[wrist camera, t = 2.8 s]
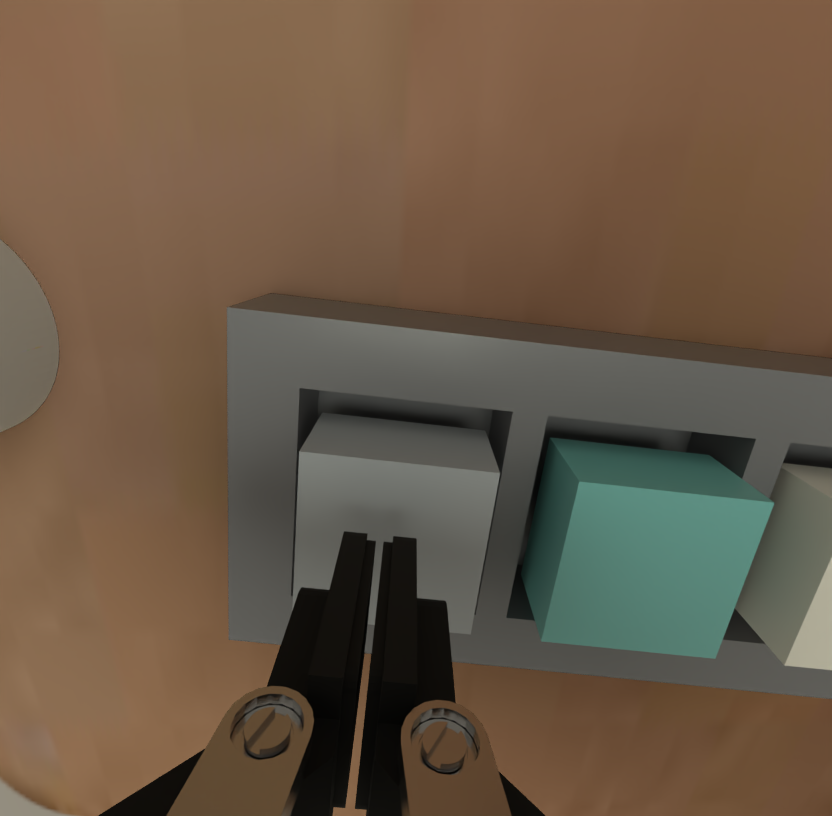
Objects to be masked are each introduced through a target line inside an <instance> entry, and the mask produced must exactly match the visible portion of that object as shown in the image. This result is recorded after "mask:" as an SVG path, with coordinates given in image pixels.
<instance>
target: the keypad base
mask: <svg viewBox="0 0 832 816" xmlns="http://www.w3.org/2000/svg"><path fill="white" fill-rule="evenodd" d="M227 403H228V588H229V640H238V641H248V642H258V643H268V644H278V645H281V643H282V640H283V637H284V634H285V631H286V628H287V625H288V622H289V619H290V616H291V613H292V607H293V584H294V561H295V538H296V515H297V492H298V469H299V451H300V449H301V448H302V446H303V444H304V443H305V441H306V439H307V438H308V436H309V434H310V433H311V431H312V429H313V427H314V426H315V424H316V422H317V421H318V419H319V417H320V416H321V414H322V413H331V414H340V415H349V416H358V417H367V418H377V419H386V420H395V421H404V422H413V423H422V424H431V425H440V426H449V427H458V428H467V429H476V430H485V431H486V434H487V437H488V439H489V442H490V445H491V448H492V451H493V454H494V457H495V460H496V463H497V466H498V469H499V471H500V477H499V482H498V488H497V493H496V498H495V504H494V509H493V515H492V520H491V526H490V531H489V537H488V542H487V548H486V553H485V559H484V564H483V570H482V575H481V581H480V586H479V591H478V597H477V602H476V608H475V613H474V619H473V624H472V630H471V635H470V634H460V633H450V632H449V633H450V645H451V656H452V662H461V663H471V664H481V665H491V666H501V667H512V668H522V669H532V670H542V671H552V672H562V673H572V674H583V675H593V676H603V677H613V678H623V679H633V680H644V681H654V682H664V683H674V684H684V685H694V686H704V687H715V688H725V689H735V690H745V691H755V692H765V693H775V694H786V695H796V696H806V697H816V698H826V699H832V670H824V669H814V668H804V667H794V666H784V665H783V664H782V662H781V661H780V660H779V659H778V658H777V657H776V655H775V654H774V653H773V652H772V651H771V650H770V648H769V647H768V646H767V645H766V644H765V643H764V641H763V640H762V639H761V638H760V637H759V636H758V635H757V633H756V632H755V631H754V630H753V629H752V628H751V626H750V625H749V624H748V623H747V622H746V621H745V619H744V618H743V617H742V616H741V615H740V614H739V613H738V611H737V610H736V609H735V608H734V611H733V614H732V616H731V619H730V622H729V624H728V627H727V629H726V632H725V635H724V637H723V640H722V643H721V645H720V648H719V651H718V653H717V656H716V658H715V659H712V658H702V657H692V656H682V655H672V654H662V653H652V652H642V651H632V650H622V649H612V648H602V647H592V646H582V645H572V644H562V643H552V642H542V641H541V639H540V636H539V632H538V629H537V626H536V623H535V619H534V616H533V613H532V609H531V606H530V603H529V599H528V596H527V593H526V589H525V586H524V583H523V579H522V576H521V571H522V567H523V562H524V557H525V553H526V548H527V543H528V538H529V534H530V529H531V524H532V520H533V515H534V510H535V505H536V501H537V496H538V491H539V487H540V482H541V477H542V472H543V468H544V463H545V458H546V454H547V449H548V444H549V439H550V437H551V438H560V439H569V440H578V441H587V442H596V443H605V444H614V445H623V446H632V447H641V448H650V449H659V450H668V451H677V452H686V453H696V454H705V455H710V456H711V457H713V458H714V459H715V460H717V461H718V462H720V463H721V464H722V465H724V466H725V467H726V468H728V469H729V470H731V471H732V472H733V473H735V474H736V475H737V476H739V477H740V478H742V479H743V480H744V481H746V482H747V483H748V484H750V485H751V486H752V487H754V488H755V489H757V490H758V491H759V492H761V493H762V494H763V495H765V496H766V497H768V498H769V499H770V496H771V493H772V491H773V488H774V485H775V483H776V480H777V477H778V475H779V472H780V469H781V467H782V464H783V463H788V464H797V465H806V466H815V467H824V468H832V358H824V357H815V356H807V355H798V354H789V353H781V352H772V351H763V350H755V349H746V348H738V347H729V346H720V345H712V344H703V343H694V342H686V341H677V340H669V339H660V338H651V337H643V336H634V335H625V334H617V333H608V332H600V331H591V330H582V329H574V328H565V327H557V326H548V325H539V324H531V323H522V322H513V321H505V320H496V319H488V318H479V317H470V316H462V315H453V314H444V313H436V312H427V311H419V310H410V309H401V308H393V307H384V306H375V305H367V304H358V303H350V302H341V301H332V300H324V299H315V298H306V297H298V296H289V295H281V294H272V293H270V294H267V295H264V296H261V297H258V298H254V299H251V300H248V301H245V302H242V303H239V304H236V305H232V306H229V307H227ZM374 626H375V625H370V624H368V625H367V635H366V644H365V653H369V654H372V645H373V635H374Z"/></svg>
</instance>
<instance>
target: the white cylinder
mask: <svg viewBox="0 0 832 816" xmlns="http://www.w3.org/2000/svg"><path fill="white" fill-rule="evenodd" d="M58 363H59V340H58V333H57V328H56V323H55V320H54V316H53V313H52V310H51V308H50V305H49V303H48V301H47V298H46V296H45V294H44V292H43V290H42V289H41V287H40V285H39V283H38V282H37V280H36V279H35V277H34V276H33V274H32V273H31V271H30V270H29V269H28V267H27V266H26V265H25V264H24V262H23V261H22V260H21V259H20V258H19V257H18V256H17V254H16V253H15V252H14V251H13V250H12V249H11V248H10V247H9V246H7V245H6V244H5V243H4V242H3V241H2V240H1V239H0V432H2V431H4V430H7V429H9V428H11V427H13V426H15V425H17V424H19V423H21V422H23V421H24V420H26V419H27V418H29V417H30V416H31V415H32V414H33V413H34V412H36V411H37V410H38V409H39V407H40V406H41V405H42V404H43V402H44V401H45V400H46V398H47V396H48V395H49V393H50V391H51V389H52V386H53V384H54V381H55V378H56V374H57V370H58Z"/></svg>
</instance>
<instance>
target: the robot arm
mask: <svg viewBox="0 0 832 816" xmlns="http://www.w3.org/2000/svg"><path fill="white" fill-rule="evenodd" d="M367 536H368V533H357V532H347V531H344V533H343V537H342V541H341V545H340V549H339V553H338V557H337V561H336V565H335V569H334V573H333V577H332V581H331V585H330V589H329V590H326V589H315V588H304V587H301V589H300V590H299V593H298V595H297V598H296V601H295V604H294V607H293V610H292V613H291V616H290V619H289V622H288V625H287V628H286V631H285V634H284V637H283V640H282V643H281V646H280V649H279V652H278V655H277V658H276V661H275V664H274V667H273V670H272V673H271V676H270V679H269V682H268V685H267V687H264V688H258V689H256V690H254V691H252V692H249V693H247V694H245V695H244V696H243V697H241V698H240V699H239V700H237V701H236V702H235V703H234V704H233V705H232V706H231V708H230V709H229V710H228V711H227V713H226V714H225V716H224V717H223V719H222V721H221V722H220V724H219V726H218V728H217V729H216V731H215V733H214V735H213V736H212V738H211V740H210V741H209V743H208V745H207V747H206V748H205V749H204V750H202V751H201V752H199V753H197V754H196V755H194V756H193V757H191V758H189V759H188V760H186V761H185V762H183V763H181V764H180V765H178V766H177V767H175V768H174V769H172V770H170V771H169V772H167V773H166V774H164V775H162V776H161V777H159V778H158V779H156V780H154V781H153V782H151V783H150V784H148V785H146V786H145V787H143V788H142V789H140V790H138V791H137V792H135V793H134V794H132V795H130V796H129V797H127V798H126V799H124V800H122V801H121V802H119V803H118V804H116V805H115V806H113V807H111V808H110V809H108V810H107V811H105V812H103V813H102V814H100V815H99V816H332V814H333V807H340V808H345V805H346V797H347V789H348V781H349V773H350V765H351V757H352V749H353V741H354V733H355V725H356V717H357V709H358V701H359V693H360V685H361V677H362V669H363V661H364V653H365V644H366V635H367V625H368V615H369V606H370V596H371V586H372V576H373V566H374V556H375V547H376V541H373V540H367ZM355 809H366V810H367V812H366V816H545V815H544V814H543V813H542V812H541V811H540V810H539V809H538V808H537V807H536V806H535V805H534V804H532V803H531V802H530V801H529V800H528V799H527V798H526V797H525V796H524V795H523V794H522V793H521V792H520V791H519V790H518V789H517V788H516V787H515V786H514V785H512V784H511V783H510V782H509V781H508V780H507V779H506V778H505V777H504V776H503V775H502V774H501V773H500V772H499V771H498V769H497V765H496V762H495V759H494V755H493V752H492V749H491V745H490V742H489V739H488V736H487V733H486V731H485V729H484V727H483V725H482V723H481V722H480V721H479V720H478V719H477V717H476V716H475V715H474V714H473V713H472V712H470V711H469V710H467V709H466V708H465V707H463V706H461V705H459V704H456V702H455V691H454V679H453V668H452V656H451V645H450V633H449V622H448V610H447V603H446V601H444V600H433V599H422V598H417V539H416V538H409V537H398V536H393V542H383V551H382V561H381V570H380V579H379V589H378V598H377V607H376V617H375V626H374V635H373V645H372V654H371V663H370V673H369V682H368V691H367V701H366V710H365V719H364V729H363V738H362V747H361V757H360V766H359V775H358V785H357V794H356V804H355Z"/></svg>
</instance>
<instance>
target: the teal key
mask: <svg viewBox="0 0 832 816" xmlns="http://www.w3.org/2000/svg"><path fill="white" fill-rule="evenodd" d="M773 506H774V502H773V501H772V500H770V499H769V498H768V497H766V496H765V495H763V494H762V493H761V492H759V491H758V490H757V489H755V488H754V487H752V486H751V485H750V484H748V483H747V482H746V481H744V480H743V479H742V478H740V477H739V476H737V475H736V474H735V473H733V472H732V471H731V470H729V469H728V468H726V467H725V466H724V465H722V464H721V463H720V462H718V461H717V460H715V459H714V458H713V457H711V456H710V455H705V454H696V453H686V452H677V451H668V450H659V449H650V448H641V447H632V446H623V445H614V444H605V443H596V442H587V441H578V440H569V439H560V438H551V437H550V439H549V444H548V449H547V454H546V458H545V463H544V468H543V472H542V477H541V482H540V487H539V491H538V496H537V501H536V505H535V510H534V515H533V520H532V524H531V529H530V534H529V538H528V543H527V548H526V553H525V557H524V562H523V567H522V571H521V576H522V579H523V583H524V586H525V589H526V593H527V596H528V599H529V603H530V606H531V609H532V613H533V616H534V619H535V623H536V626H537V629H538V632H539V636H540V639H541V641H542V642H552V643H562V644H572V645H582V646H592V647H602V648H612V649H622V650H632V651H642V652H652V653H662V654H672V655H682V656H692V657H702V658H712V659H715V658H716V656H717V653H718V651H719V648H720V645H721V643H722V640H723V637H724V635H725V632H726V629H727V627H728V624H729V622H730V619H731V616H732V614H733V611H734V608H735V606H736V603H737V601H738V598H739V595H740V593H741V590H742V587H743V585H744V582H745V580H746V577H747V574H748V572H749V569H750V566H751V564H752V561H753V559H754V556H755V553H756V551H757V548H758V545H759V543H760V540H761V537H762V535H763V532H764V530H765V527H766V524H767V522H768V519H769V516H770V514H771V511H772V509H773Z"/></svg>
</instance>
